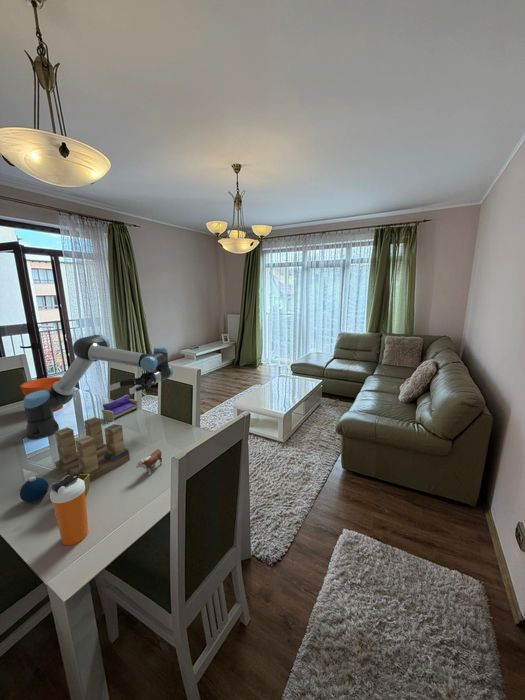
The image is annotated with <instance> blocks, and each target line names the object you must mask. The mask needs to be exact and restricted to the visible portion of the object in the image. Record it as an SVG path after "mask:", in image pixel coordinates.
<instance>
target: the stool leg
mask: <svg viewBox="0 0 525 700" xmlns="http://www.w3.org/2000/svg"><path fill="white" fill-rule="evenodd" d="M104 436H105V444H106V445H107V453H108V454H109V455H111V456H113V457H114V456H116V455H118V454H120V453H122V452H124V451H125V449H126V447H125V439H124V433H123V425H121V424H115V423H113V424H111V425H109V426H107V427H105V428H104Z"/></svg>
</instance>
